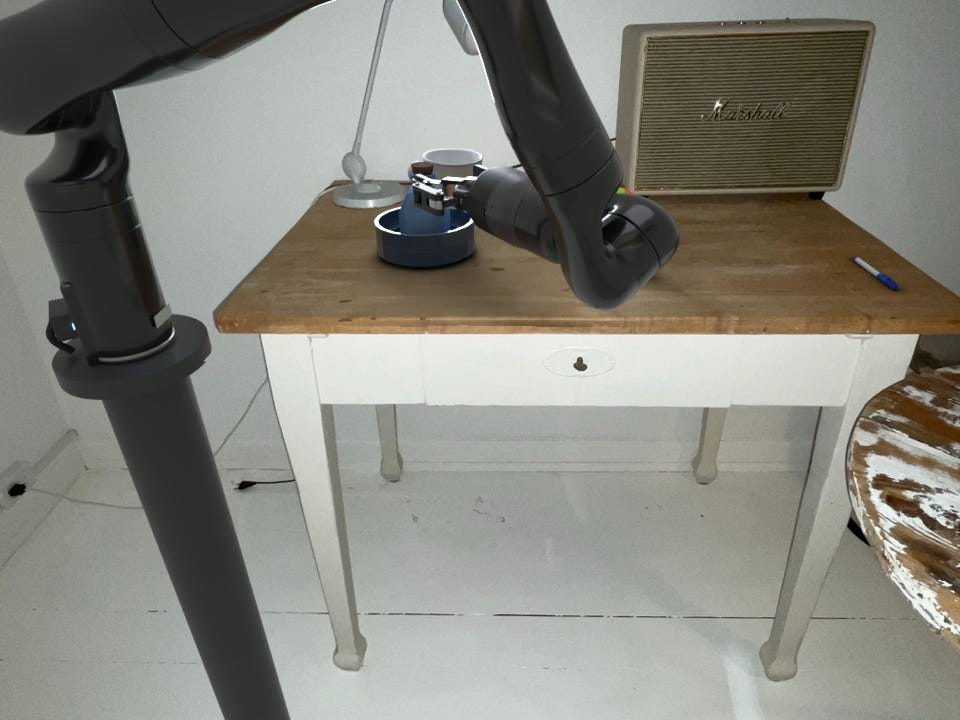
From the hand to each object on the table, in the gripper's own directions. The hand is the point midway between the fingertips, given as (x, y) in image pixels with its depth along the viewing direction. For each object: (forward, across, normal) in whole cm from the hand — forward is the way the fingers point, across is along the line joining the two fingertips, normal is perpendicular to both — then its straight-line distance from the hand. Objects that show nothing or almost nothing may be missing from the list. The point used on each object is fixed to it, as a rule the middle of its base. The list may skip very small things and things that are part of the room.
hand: (446, 177), depth 81 cm
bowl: (+7, 0, +12) cm, 14 cm away
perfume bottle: (+7, 0, +12) cm, 14 cm away
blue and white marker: (-33, -45, +13) cm, 57 cm away
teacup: (+29, -15, +12) cm, 35 cm away
